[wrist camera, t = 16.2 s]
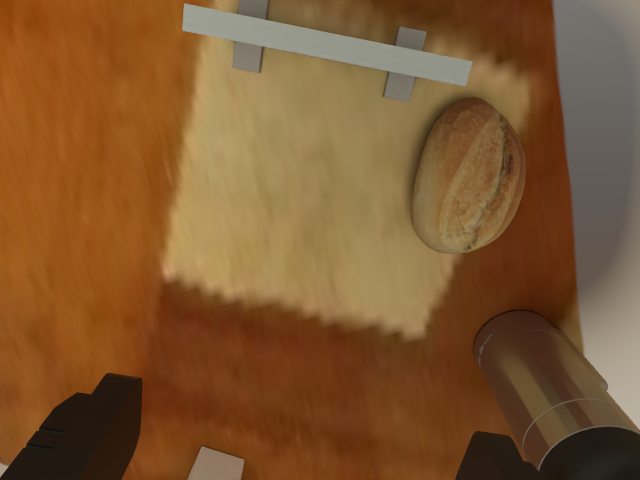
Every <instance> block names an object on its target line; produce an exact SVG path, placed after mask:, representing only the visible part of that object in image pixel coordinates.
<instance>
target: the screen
mask: <svg viewBox="0 0 640 480" xmlns="http://www.w3.org/2000/svg"><path fill="white" fill-rule="evenodd" d="M268 6H269V0H239V7H238V14H234V13H229V12H224V11H219V10H214V9H209V8H204V7H199V6H194V5H189V4H184V14H183V31H188V32H193V33H198V34H203V35H208V36H213V37H218V38H223V39H228V40H233V41H235V46H234V55H233V65H232V68H236V69H241V70H246V71H251V72H256V73H260V70H261V62H262V54H263V47H268V48H273V49H278V50H283V51H288V52H294V53H299V54H304V55H309V56H314V57H319V58H324V59H329V60H334V61H339V62H344V63H349V64H354V65H359V66H364V67H369V68H374V69H379V70H384V71H388V75H387V80H386V84H385V89H384V93H383V97H385V98H390V99H395V100H400V101H406V102H410V98H411V94H412V90H413V86H414V82H415V78H416V77H420V78H425V79H430V80H435V81H440V82H445V83H450V84H455V85H461V86H466V84H467V80H468V77H469V73H470V70H471V66H472V63H473V62H472V61H468V60H463V59H458V58H453V57H448V56H443V55H438V54H433V53H428V52H423V51H422V49H423V45H424V41H425V37H426V33H427V32H426V31H421V30H416V29H411V28H406V27H401V26H399V27H398V31H397V35H396V40H395V44H394V46H393V45H388V44H383V43H378V42H373V41H368V40H363V39H358V38H353V37H348V36H343V35H338V34H333V33H328V32H323V31H318V30H313V29H308V28H304V27H299V26H294V25H289V24H284V23H279V22H274V21H269V20H267V14H268Z"/></svg>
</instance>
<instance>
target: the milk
mask: <svg viewBox="0 0 640 480" xmlns="http://www.w3.org/2000/svg"><path fill="white" fill-rule="evenodd" d="M243 465H244V459H241V458H238V457H235V456H232V455H229V454H226V453H222V452H219V451H216V450H213V449H210V448H207V447H203V446H202V447H201V449H200V451H199V454H198V456H197V458H196V461H195V463H194V465H193V468H192V470H191V472H190V475H189V477H188V480H241V475H242V470H243Z"/></svg>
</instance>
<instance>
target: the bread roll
mask: <svg viewBox="0 0 640 480" xmlns="http://www.w3.org/2000/svg"><path fill="white" fill-rule="evenodd" d="M525 172H526V167H525V154H524V150H523V147H522V145H521V142H520V139H519V137H518V135H517V134H516V132H515V131H514V129H513V128H512V126H511V125H510V123H509V122H508V121H507V119H506V118H505V117H503V116H502V114H500V113H499V112H498V111H497V110H496V109H495V108H494V107H493V106H491V105H490V104H488V103H487V102H485V101H484V100H482V99H477V98H467V99H463V100H460V101H458V102H457V103H455V104H454V105H452V106H451V107H449V108H448V109H447V110H446V111H445V112H444V113H443V114H442V115H441V116H440V118H439V119H438V120H437V122H436V123H435V125H434V126H433V128H432V130H431V132H430V134H429V136H428V139H427V141H426V144H425V147H424V150H423V153H422V156H421V159H420V163H419V167H418V171H417V175H416V179H415V184H414V189H413V195H412V204H411V220H412V225H413V228H414V230H415V232H416V234H417V235H418V237H419V238H420V240H421V241H422V242H423V243H424V244H425V245H427V246H428V247H429V248H431V249H433V250H435V251H438V252H440V253H450V254H456V253H465V252H466V253H468V252H470V251H473V250H476V249H478V248H481V247H483V246H485V245H488V244H489V243H491V242H492V241H494V240H496V239H497V238H498V237H499V236H500V235H501V234H502V233H503V232H504V230H505V229H506V228H507V226H508V225H509V224H510V222H511V220H512V219H513V217H514V215H515V213H516V211H517V208H518V206H519V203H520V201H521V197H522V194H523V190H524V186H525V180H526V173H525Z"/></svg>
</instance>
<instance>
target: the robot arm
mask: <svg viewBox="0 0 640 480" xmlns="http://www.w3.org/2000/svg"><path fill="white" fill-rule="evenodd" d="M474 355H475V358H476V361H477V363H478V365H479V367H480V369H481V371H482V373H483V375H484V377H485V379H486V381H487V383H488V385H489V387H490V389H491V391H492V393H493V395H494V397H495V399H496V401H497V403H498V405H499V407H500V409H501V411H502V413H503V415H504V417H505V419H506V421H507V423H508V425H509V427H510V429H511V431H512V433H513V435H514V437H515V439H516V441H517V444H518V446H519V448H520V450H521V452H522V454H523V456H524V458H525V460H526V461H527V462H525V461H523V460H522V458H521V456H520V453H519V451H518V449H517V447H516V445H515V443H514V441H513V440H512V439H511V437H509V436H507V435H501V434H494V433H488V432H481V431H476V432H475V433H474V434H473V436H472V438H471V441H470V443H469V446H468V448H467V450H466V453H465V455H464V458H463V460H462V463H461V465H460V468H459V470H458V473H457V476H456V479H455V480H640V430H639V429H638V428H637V426H636V425H635V424H634V423H633V422H632V421H631V420H630V418H629V417H628V416H627V415H626V413H624V411H623V410H622V409H621V408H620V407H619V406H618V404H617V403H616V402H615V401H614V400H613V398H612V397H611V396H610V395H609V394H608V392H607V389H608V384H607V382H606V381H605V380H604V379H603V377H602V376H601V375H600V374H599V373H598V372H597V371H596V369H595V368H594V367H593V366H592V365H591V364H590V362H589V361H588V360H587V359H586V358H585V357H584V356H583V354H582V353H581V352H580V351H579V350H578V349H577V347H576V346H575V345H574V344H573V343H572V342H571V341H570V339H569V338H568V337H567V336H566V335H565V334H564V332H563V331H562V330H561V329H558V328H554V327H552V326H551V325H550V324H549V323H548V321H547V320H546V319H544V318H543V317H541V316H540V315H538V314H535V313H533V312H528V311H512V312H507V313H504V314H501V315H499V316H497V317H495V318H493V319H492V320H490V321H489V322H488V323H487V324H486V325H484V327H483V328H482V329H481V330H480V332H479V333H478V335H477V337H476V339H475V343H474ZM141 407H142V379H141V378H139V377H133V376H126V375H120V374H113V373H107V374H106V375H105V376H104V377H103V379H102V380H101V381H100V383H99V384H98V386H97V387H96V389H95V390H94V391H93V393H92V394H85V393H78V392H77V393H76V394H74V395H73V396H71V397H70V398H68V399H67V400H65V401H64V402H62V403H61V404H59V405H58V406H56V407H55V408H54V409H53V411H52V412H51V413H50V414H49V416H48V417H47V418H46V420H45V421H44V422H43V423H42V425H41V426H40V428H39V431H36V432H35V434H34V435H33V436H32V438H31V439H30V440H29V441H28V443H27V445H26V447H25V448H23V449H22V450H21V452H20V453H19V454H18V455H17V457H16V458H15V459H14V461H13V462H12V463H11V464H10V466H9V467H8V468H7V470H6V471H5V472H4V474H3V475H2V476H1V477H0V480H121V479H122V477H123V475H124V473H125V471H126V469H127V467H128V465H129V463H130V460H131V458H132V456H133V454H134V451H135V449H136V446H137V442H138V439H139V434H140V427H141Z"/></svg>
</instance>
